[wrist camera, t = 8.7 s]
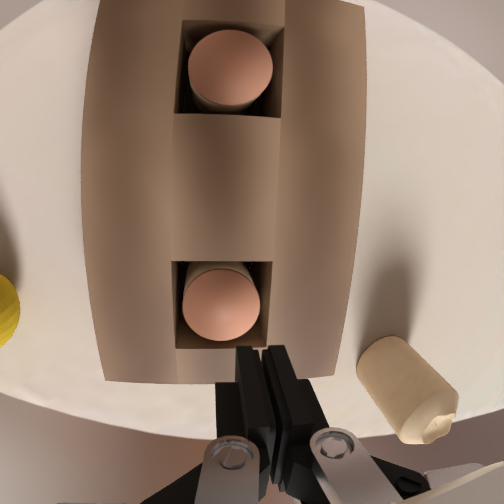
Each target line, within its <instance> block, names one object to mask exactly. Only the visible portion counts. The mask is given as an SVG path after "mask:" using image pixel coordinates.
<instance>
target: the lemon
mask: <svg viewBox="0 0 504 504" xmlns="http://www.w3.org/2000/svg"><path fill="white" fill-rule="evenodd" d="M19 317H20V302H19V298H18V294H17V292H16V290H15V288H14V286H13V285H12V283H11V282H10V281H9V280H8V279H7V278H6V277H4V276H3V275H2V274H0V348H1V347H2V346H3V345H4V344H5V343H6V342H7V341H8V340H9V339H10V338H11V337H12V335H13V334H14V332H15V329H16V327H17V325H18V322H19Z"/></svg>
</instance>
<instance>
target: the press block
mask: <svg viewBox="0 0 504 504" xmlns="http://www.w3.org/2000/svg"><path fill="white" fill-rule="evenodd" d="M222 30H238V31H243V32H246V33H249V34H251V35H253V36H254V37H256V38H257V39H259V40H260V41H261V42H262V43H263V44H264V45H265V47H266V48H267V50H268V51H269V53H270V56H271V59H272V64H273V71H272V76H271V79H270V82H269V84H268V85H267V87H266V88H265V89H264V91H263V92H262V93H261V108H260V117H259V116H243V115H223V114H183V100H184V86H185V74H186V62H187V56H190V54H191V52H192V50H193V49H194V47H195V46H196V45H197V44H198V42H199V41H201V40H202V39H203V38H205V37H206V36H208V35H210V34H212V33H214V32H217V31H222ZM366 95H367V70H366V33H365V14H364V7H362V6H359V5H355V4H352V3H348V2H344V1H340V0H100V4H99V9H98V13H97V18H96V23H95V28H94V33H93V39H92V45H91V51H90V57H89V64H88V72H87V80H86V89H85V99H84V111H83V125H82V147H81V204H82V226H83V241H84V253H85V264H86V273H87V282H88V290H89V297H90V304H91V311H92V317H93V323H94V329H95V334H96V340H97V345H98V350H99V355H100V360H101V364H102V369H103V373H104V377H105V381H117V382H133V383H155V384H215V382H235V356H236V346H252V348H253V350H257V349H258V351H259V355H260V359H261V356H262V350H263V349H267V348H268V345H284V346H285V348H286V350H287V353H288V356H289V358H290V361H291V364H292V366H293V369H294V371H295V374H296V377H297V379H304V378H314V377H323V376H331V375H334V372H335V367H336V363H337V358H338V353H339V348H340V343H341V338H342V333H343V327H344V322H345V316H346V311H347V305H348V299H349V293H350V286H351V280H352V273H353V266H354V258H355V251H356V243H357V234H358V226H359V216H360V206H361V195H362V183H363V170H364V154H365V133H366ZM180 261H253V269H252V281H253V283H254V286H255V288H256V290H257V293H258V296H259V300H260V311H259V315H258V317H257V320H256V322H255V323H254V325H253V326H252V327H251V328H250V329H249V330H248V331H247V332H246V333H244V334H243V335H241V336H239V337H237V338H234V339H231V340H226V341H215V340H210V339H207V338H204V337H202V336H200V335H198V334H197V333H196V332H194V331H193V330H192V329H191V328H190V326H189V325H188V323H187V322H186V320H185V317H184V314H183V303H181V296H180Z"/></svg>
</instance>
